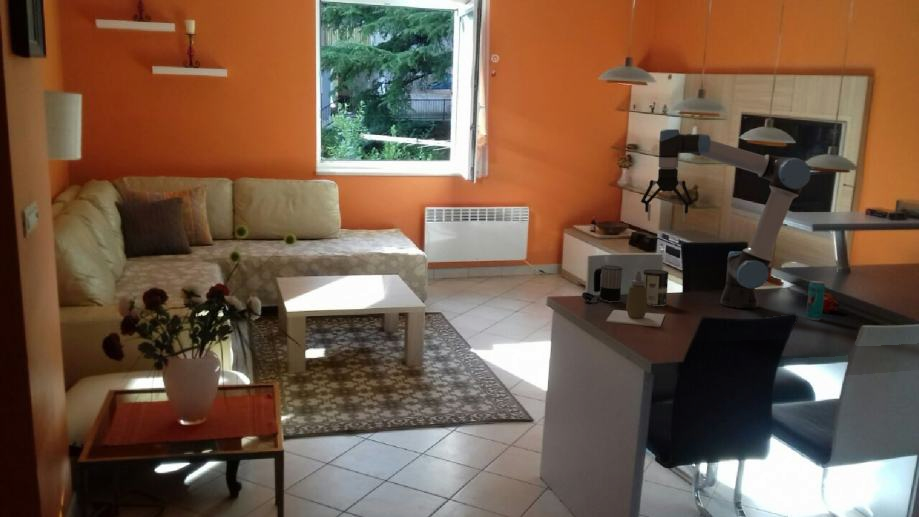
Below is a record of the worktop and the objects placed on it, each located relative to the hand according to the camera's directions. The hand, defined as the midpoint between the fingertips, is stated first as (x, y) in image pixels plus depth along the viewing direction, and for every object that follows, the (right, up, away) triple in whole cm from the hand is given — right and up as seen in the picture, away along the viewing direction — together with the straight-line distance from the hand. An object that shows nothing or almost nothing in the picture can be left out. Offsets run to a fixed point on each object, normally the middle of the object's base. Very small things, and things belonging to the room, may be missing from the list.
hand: (666, 221), depth 327 cm
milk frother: (-23, -34, +17) cm, 44 cm away
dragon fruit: (+68, -37, +7) cm, 78 cm away
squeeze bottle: (-15, -38, -14) cm, 43 cm away
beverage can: (+56, -39, -8) cm, 69 cm away
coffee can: (-2, -35, +14) cm, 37 cm away
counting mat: (-15, -39, -14) cm, 44 cm away
